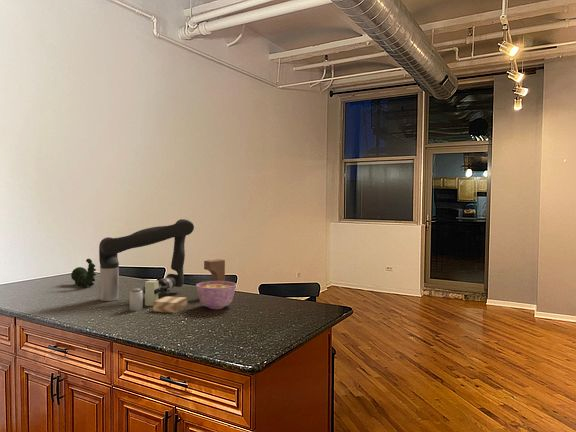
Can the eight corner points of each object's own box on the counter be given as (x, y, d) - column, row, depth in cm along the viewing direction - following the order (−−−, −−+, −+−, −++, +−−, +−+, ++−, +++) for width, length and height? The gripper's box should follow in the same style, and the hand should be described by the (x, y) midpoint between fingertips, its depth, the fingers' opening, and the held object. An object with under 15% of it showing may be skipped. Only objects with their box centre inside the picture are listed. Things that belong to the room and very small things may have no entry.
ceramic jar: (127, 310, 207) (127, 290, 207) (133, 307, 213) (133, 287, 213) (139, 311, 206) (139, 290, 206) (144, 308, 212) (144, 288, 212)
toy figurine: (99, 289, 264) (81, 281, 280) (100, 259, 262) (82, 252, 278) (83, 292, 257) (66, 283, 273) (85, 261, 255) (67, 253, 271)
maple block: (153, 311, 207) (153, 301, 207) (165, 306, 219) (165, 296, 219) (176, 313, 205) (176, 302, 204) (187, 307, 216) (187, 297, 216)
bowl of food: (220, 300, 230) (220, 279, 230) (244, 307, 216) (244, 284, 216) (188, 306, 216) (188, 284, 216) (210, 314, 202) (211, 290, 202)
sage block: (144, 305, 218) (145, 281, 218) (149, 303, 223) (149, 280, 223) (154, 305, 217) (154, 282, 217) (158, 303, 222) (158, 280, 222)
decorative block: (209, 297, 238) (209, 261, 238) (203, 296, 242) (203, 260, 241) (225, 294, 246) (225, 260, 245) (219, 293, 250) (219, 259, 249)
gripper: (150, 278, 235) (136, 284, 218) (175, 279, 233) (163, 285, 216) (150, 292, 235) (136, 298, 218) (175, 292, 234) (163, 299, 217)
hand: (149, 291), depth 217 cm, fingers closed on sage block, 5 cm apart
